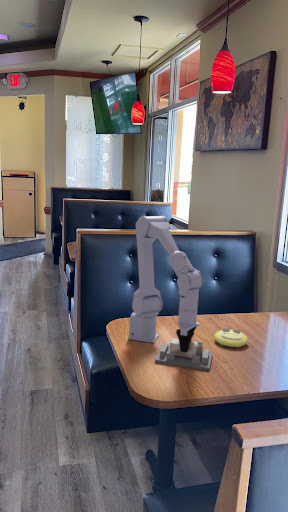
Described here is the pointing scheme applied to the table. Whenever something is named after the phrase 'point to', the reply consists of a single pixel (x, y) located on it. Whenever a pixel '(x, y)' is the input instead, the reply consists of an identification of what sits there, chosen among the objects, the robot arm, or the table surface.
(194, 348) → the light grey tapered block
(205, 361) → the cradle
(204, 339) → the table surface
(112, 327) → the table surface
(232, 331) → the emoji
